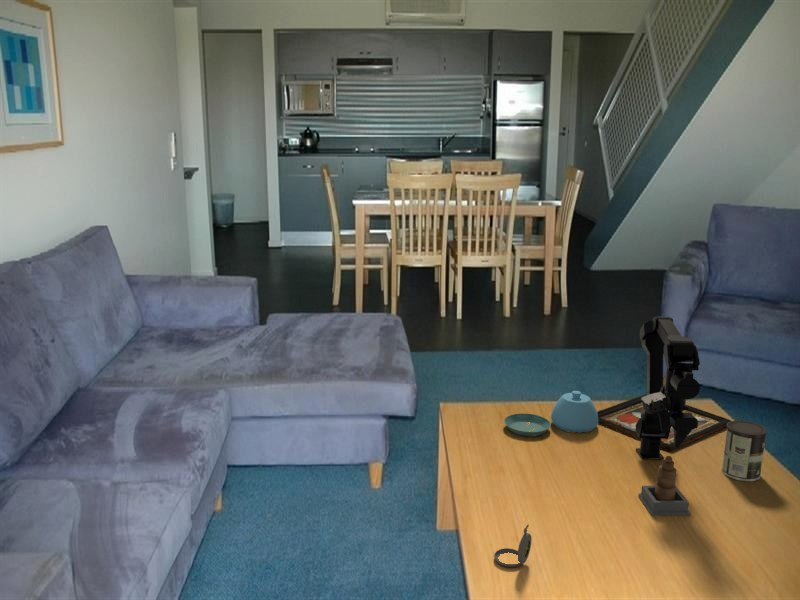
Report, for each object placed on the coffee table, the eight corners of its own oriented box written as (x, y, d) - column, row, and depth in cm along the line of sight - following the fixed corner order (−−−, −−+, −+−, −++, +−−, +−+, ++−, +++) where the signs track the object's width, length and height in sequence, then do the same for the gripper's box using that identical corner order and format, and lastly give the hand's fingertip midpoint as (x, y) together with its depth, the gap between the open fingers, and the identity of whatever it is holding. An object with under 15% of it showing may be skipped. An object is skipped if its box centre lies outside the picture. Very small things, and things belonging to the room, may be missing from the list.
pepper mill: (649, 501, 201) (654, 455, 198) (661, 496, 204) (666, 450, 201) (666, 509, 197) (671, 462, 194) (678, 503, 200) (683, 457, 197)
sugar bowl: (549, 415, 259) (551, 382, 256) (595, 418, 257) (598, 385, 254) (551, 433, 245) (554, 398, 242) (600, 436, 243) (603, 402, 240)
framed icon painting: (639, 394, 280) (640, 387, 279) (736, 424, 256) (737, 416, 255) (581, 424, 254) (581, 415, 253) (682, 460, 230) (683, 451, 229)
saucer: (495, 431, 246) (496, 423, 245) (516, 417, 257) (516, 409, 257) (538, 443, 237) (538, 435, 237) (557, 428, 249) (558, 420, 249)
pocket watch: (491, 552, 178) (493, 513, 176) (527, 551, 179) (529, 512, 177) (498, 573, 171) (501, 532, 168) (536, 572, 171) (539, 531, 169)
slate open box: (638, 496, 206) (639, 484, 205) (675, 495, 206) (676, 484, 205) (651, 515, 196) (652, 503, 195) (690, 515, 196) (691, 503, 196)
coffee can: (755, 467, 224) (762, 421, 220) (764, 483, 214) (771, 436, 210) (717, 463, 226) (723, 418, 222) (725, 479, 216) (731, 432, 212)
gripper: (634, 373, 215) (629, 426, 218) (659, 398, 196) (653, 454, 200) (674, 373, 215) (668, 426, 219) (702, 398, 197) (695, 454, 201)
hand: (670, 439), depth 210 cm, fingers open, 9 cm apart
